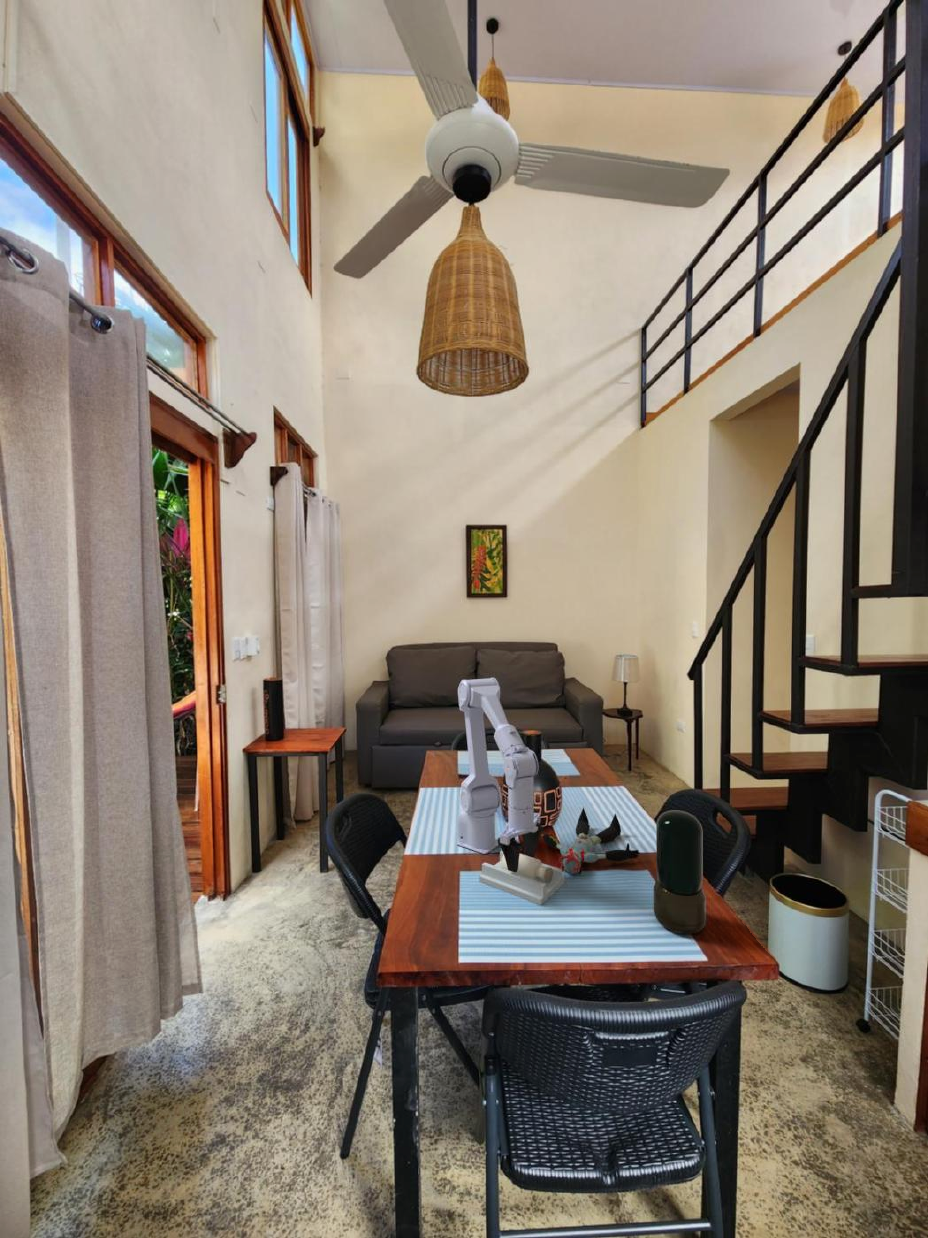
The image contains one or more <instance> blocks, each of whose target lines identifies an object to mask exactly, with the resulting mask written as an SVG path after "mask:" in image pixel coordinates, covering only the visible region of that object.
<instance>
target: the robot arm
mask: <svg viewBox="0 0 928 1238" xmlns="http://www.w3.org/2000/svg"><path fill="white" fill-rule="evenodd" d="M457 697H458V698H457V699H458V706H459V707H458V708H459V711H460V712H463V713H464V721H465V722H464V723H465V724H464V725H465V731H466V732H465V733H466V742H467V754H468V763H469V773H470V774H469V775H468V776H467V777H466V778H465V779H464V780H463V781H462V783H461V786H460V790H461V791H460V805H461V809H462V810H461V811H460V812H459V816H458V821H457V822H458V823H457V826H458V827H457V829H458V830H457V831H458V833H457V836H458V837H457V839H458V841H457V842H456V846H460V847H462V848H465V849H469V850H472V851H474V852H476V853H480V854H483V855H486V854H488V853H490V852H491V851H493V850H494V849H496V848H497V847H498V846H499V848H500V851H502V852H503V854H504V857H505V860H506V864H507V868H508V870H509V871H512V872H515V873H516V872H517V870H518V864H519V855H520V854H521V850H522V848H523V850H524V851H523V852H524V855H526V856H529V857H532V858H535V857H536V852H537V848H538V844H539V840H540V838H541V837H542V836H541V834H543V832H544V826H543V825H540V824H541V814H538V813H535V812H534V808H535V807H534V804H535V803H534V802H535V801H534V777H535V776H537V775H538V772H539V766H540V765H539V760H538V757H537V755H536V753H535V752H534V751H533V750H532V749H530V748H529V747H528V746H526V745H525V744H524V741H523V739H522V737H521V736H520V734H519V732H518V730H517V728H516V726H514V725H512V724H509V721H508V719H507V716H506V714H505V711H504V709H503V706H502V704H501V701H500V698H501V688H500V684H499V682H498V680H497V679H496V678H495V677H490V678H489V677H488V678H479V679H477V678H475V679H462V680H461V681H460V683H459V685H458V688H457ZM484 713H485V715H486V717H487V718H488V720H489V722H490V723H491V726H492V727H493V729H494V730H495V731H494V735H493V739H494V741H495V743H496V745H497V747H498V749H499V751H500V753H501V756H502V758H503V763H502V767H503V772H504V776H505V783H506V785H507V787H508V788H507V790H508V791H507V792H508V793H507V794H508V795H507V796H508V798H507V799H508V801H507V802H508V805H507V806H508V809H507V810H508V811H507V813H508V822H507V824H506V826H505V828H504V829H503V831H502V832H501V833H500V834H499V837H498V838H497V839H496V814H495V813H498V809H499V808H500V807H501V805H502V802H503V797H502V791H501V788H500V784H499V780H498V779H497V778H496V777H495V776H493V775H491V774H490V770H489V760H488V751H487V741H486V731H485V722H484ZM520 836H522V840H523V841H522V842H523V843H521V842H518V841H517V839H516V838H517V837H520Z"/></svg>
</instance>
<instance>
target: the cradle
mask: <svg viewBox="0 0 928 1238" xmlns="http://www.w3.org/2000/svg"><path fill="white" fill-rule="evenodd" d="M502 857H503V852H502V850H500V851H499V861H498V862H496V863H495V864H494V865H493V864H491V863H488V862H483V863H482V864H481V874H480V875H479V876H478V882H480V883H482V884H485V885H488V886H490V887H493V888H495V887H496V889H498V888H499V889H498V890H500V889H501V891H503V890H504V891H503V892H505V891H506V892H505V893H508V894H510V895H514V896H516V895H517V896H516V897H518V896H519V898H521V899H523V898H524V900H526V901H528V902H532V903H534V902H535V904H536V903H537V904H536V905H539V904H540V905H539V906H541V904H542V903H543V902H544V903H545V902H546V901H547V900H548V899H549V898H550V897H551V896H553V894H554V893H555V892H556V891H557V890H558V889H559V888H561V887H562V885H564V884H563V883H565V877H564V876H563V871H562V868H558V867H557V866H552V865H549V864H546V863H543V862H541V863H542V867H545V868H548V867H549V868H552V869H553V877H552V880H551V882H550V883H548V882H545V880H544V879H541V878H539V880H538V881H536V880H533V879H530V878H527V877H524V876H522V875H519V874H516V873H513V872H510V871H508V870H505V869H502V868H501V860H502ZM557 888H558V889H557ZM550 895H551V896H550ZM549 896H550V897H549ZM548 897H549V898H548ZM546 899H547V900H546ZM544 903H543V904H544ZM543 904H542V905H543Z"/></svg>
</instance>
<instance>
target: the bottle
mask: <svg viewBox="0 0 928 1238" xmlns="http://www.w3.org/2000/svg"><path fill="white" fill-rule="evenodd" d="M542 863H543V862H542V861H541V859H539V858H535V857H534V858H532V857H529V856H526V855H525V854H522V853H520V855H519V864H518V870H517V872H516V874H519V875H522V876H524V877H527V878H530V879H533V880H536V881H538V880H539V878H541V879H544V880H545V882H548V883H550V882H551V880H552V877H553V869H552V868H549V867H548V868H545V867H542ZM501 868H502V869H505V870H508V868H507V864H506V860H505V857H504V854H503V857H502V860H501ZM508 871H509V870H508ZM510 872H512V871H510ZM513 873H515V872H513Z"/></svg>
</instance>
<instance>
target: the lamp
mask: <svg viewBox="0 0 928 1238" xmlns="http://www.w3.org/2000/svg"><path fill="white" fill-rule="evenodd" d="M703 833H704V832H703V827H702V824H701V823H700V821H699V820H698V819H697V817H696V816H694V815H693V814H691V813H689V812H687V811H683V810H678V809H677V810H676V809H675V810H674V809H671V810H667V811H665V812H662V813H661V814H660V815H659V817H658V818H657V820H656V834H655V835H656V841H655V842H656V844H655V845H656V846H655V847H656V850H655V851H656V864H655V865H656V877H657V879H656V881H655V882H654V885H653V914H654V916H655V919H656V920H657V922H658V923H659V924H660V925H661V926H662V927H665V929H668V931H672V932H675V933H678V934H683V935H691V934H693V935H694V934H696V933H699V932H700V931H702V930H703V929H704V928H705V926H706V921H707V896H706V894H705V891H704V889H703V887H702V884H703V879H704V877H703V876H704V875H703V874H704V872H703V871H704V868H703V866H704V865H703V863H704V862H703V860H704V859H703V855H704V854H703V853H704V852H703V851H704V847H703V844H704V843H703V842H704V841H703V839H704V838H703V837H704V835H703Z"/></svg>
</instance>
